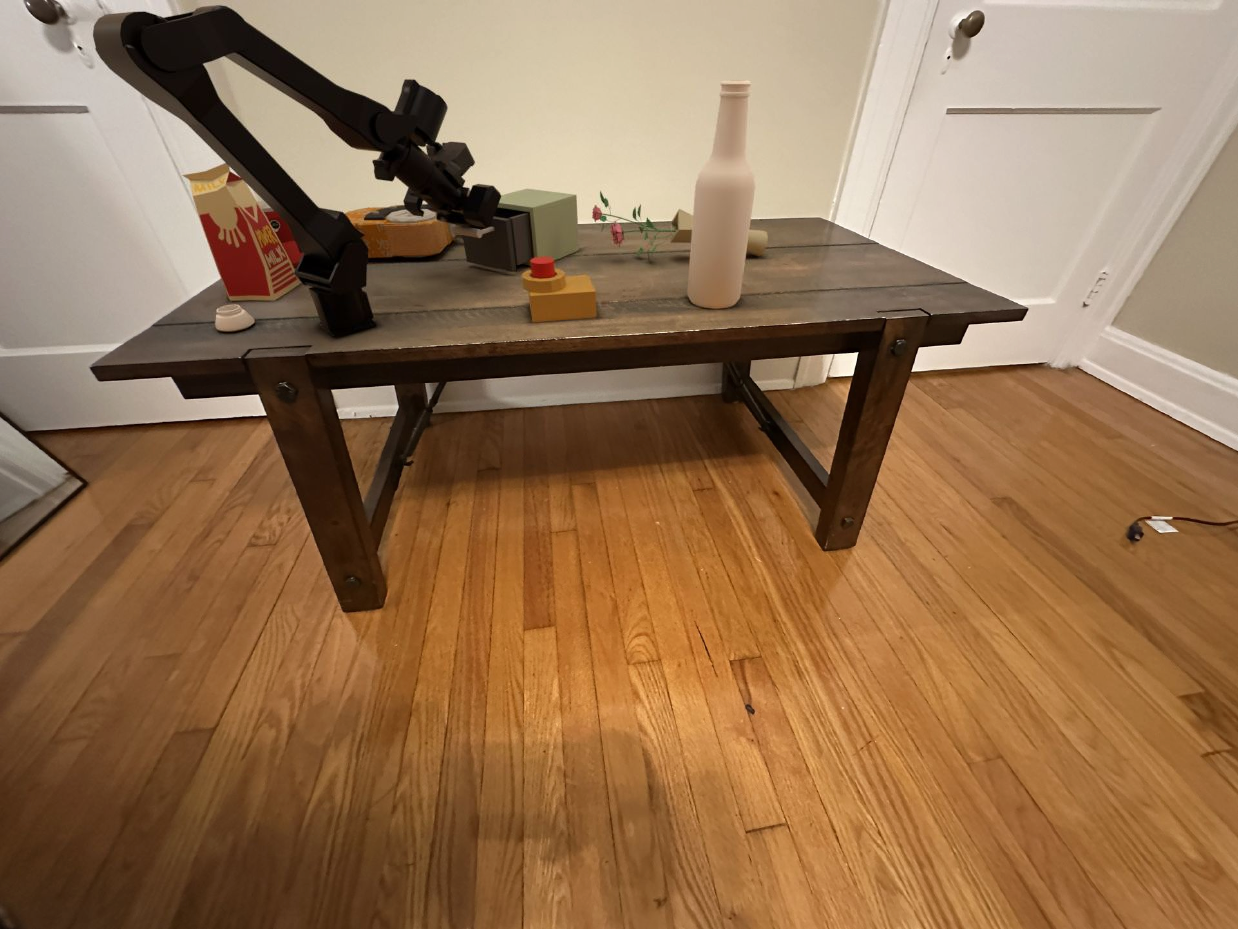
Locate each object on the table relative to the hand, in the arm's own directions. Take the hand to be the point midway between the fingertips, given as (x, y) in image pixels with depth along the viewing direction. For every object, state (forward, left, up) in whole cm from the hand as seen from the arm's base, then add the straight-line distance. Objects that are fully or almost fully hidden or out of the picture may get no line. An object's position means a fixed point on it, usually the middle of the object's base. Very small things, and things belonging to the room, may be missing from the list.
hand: (481, 228), depth 97 cm
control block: (-3, -25, -8) cm, 27 cm away
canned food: (-25, +33, -8) cm, 42 cm away
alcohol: (+18, -40, -8) cm, 45 cm away
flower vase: (+32, -21, -8) cm, 39 cm away
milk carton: (-34, +19, -8) cm, 40 cm away
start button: (-5, -24, -2) cm, 25 cm away
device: (-2, +26, -8) cm, 27 cm away
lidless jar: (-42, +5, -8) cm, 43 cm away
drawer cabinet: (+14, +3, -8) cm, 16 cm away
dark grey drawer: (+4, +1, -7) cm, 8 cm away
